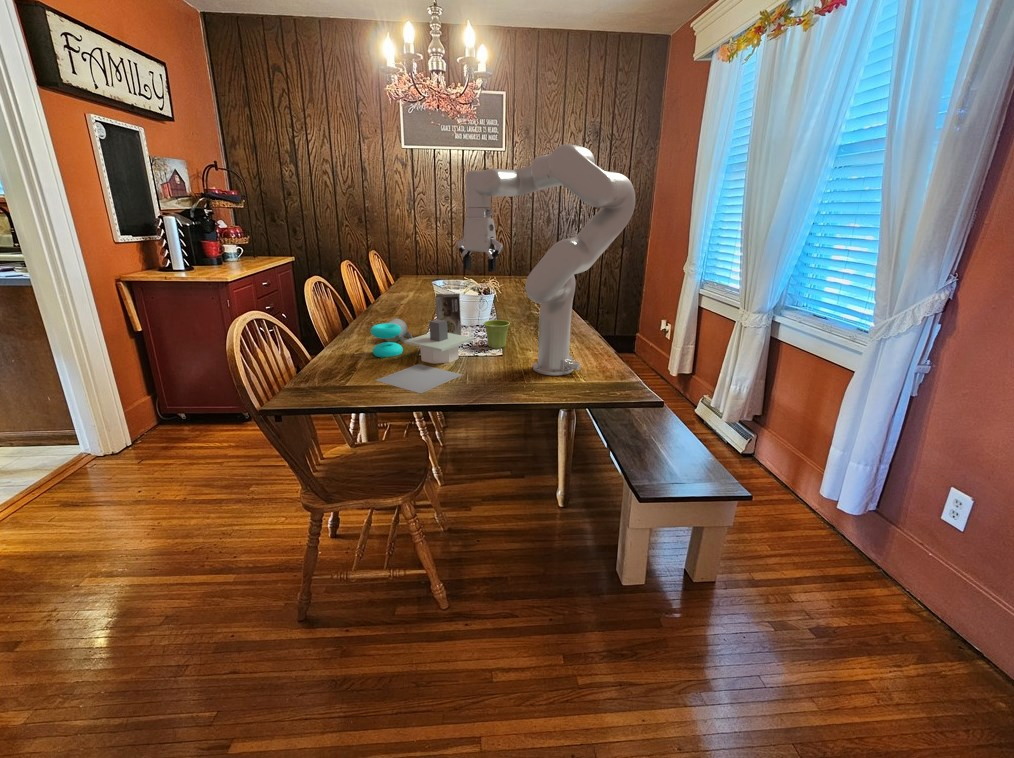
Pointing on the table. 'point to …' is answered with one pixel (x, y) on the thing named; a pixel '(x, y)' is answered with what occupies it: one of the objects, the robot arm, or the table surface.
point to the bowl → (439, 355)
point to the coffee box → (449, 311)
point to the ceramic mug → (403, 331)
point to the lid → (438, 337)
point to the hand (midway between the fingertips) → (479, 270)
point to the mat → (419, 378)
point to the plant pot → (496, 332)
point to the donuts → (388, 347)
